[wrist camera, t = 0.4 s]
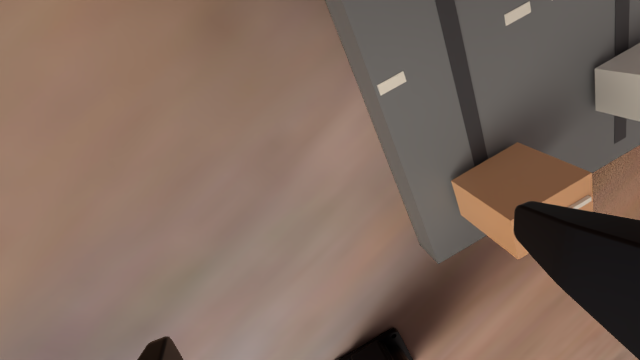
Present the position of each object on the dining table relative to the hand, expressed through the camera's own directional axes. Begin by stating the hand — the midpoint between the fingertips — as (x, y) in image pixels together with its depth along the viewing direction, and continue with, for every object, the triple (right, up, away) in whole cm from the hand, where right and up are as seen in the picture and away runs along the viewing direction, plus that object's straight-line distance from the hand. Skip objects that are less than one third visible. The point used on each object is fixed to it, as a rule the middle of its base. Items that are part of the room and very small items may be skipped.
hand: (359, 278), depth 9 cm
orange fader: (+10, +2, +15) cm, 18 cm away
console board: (+12, +10, +15) cm, 21 cm away
